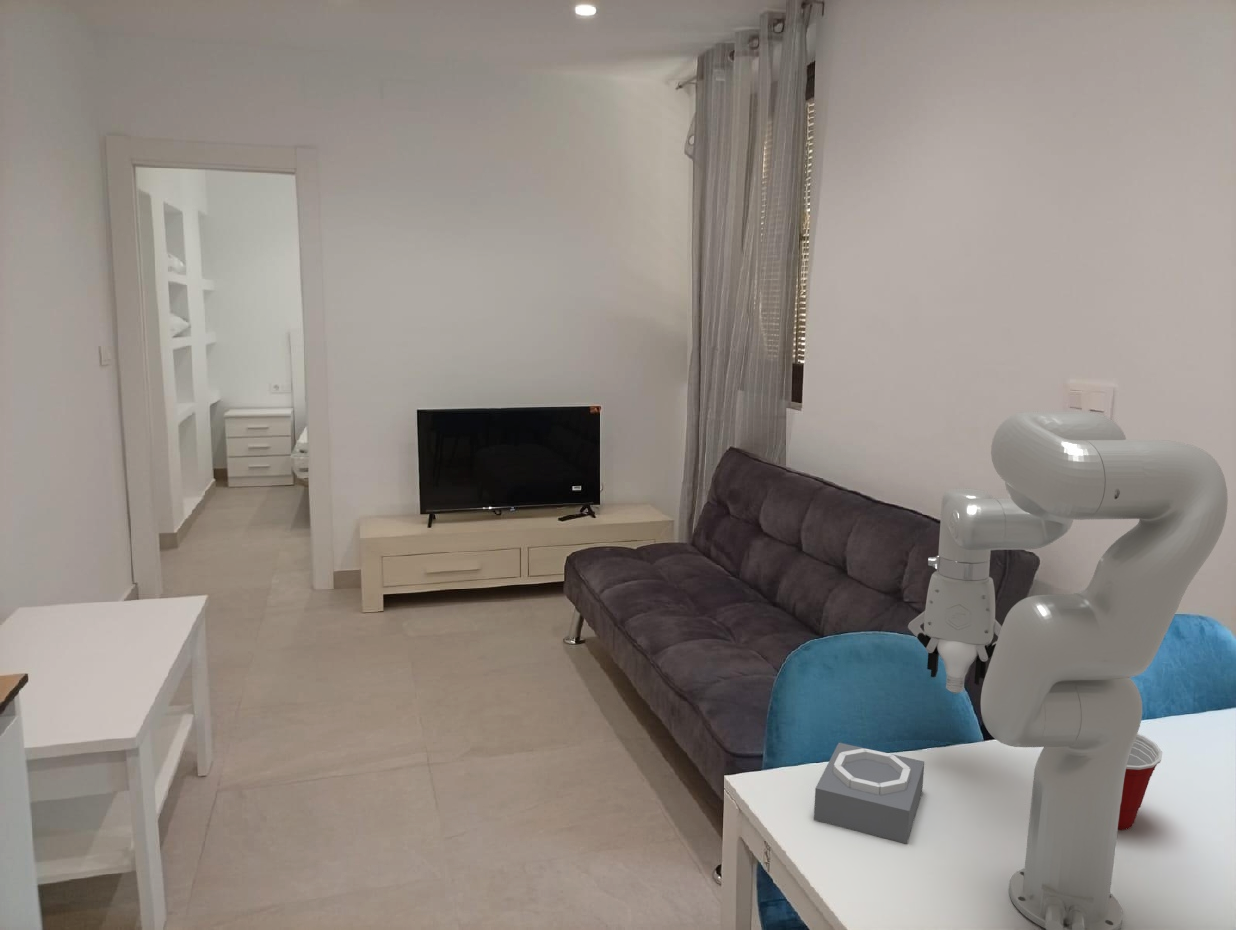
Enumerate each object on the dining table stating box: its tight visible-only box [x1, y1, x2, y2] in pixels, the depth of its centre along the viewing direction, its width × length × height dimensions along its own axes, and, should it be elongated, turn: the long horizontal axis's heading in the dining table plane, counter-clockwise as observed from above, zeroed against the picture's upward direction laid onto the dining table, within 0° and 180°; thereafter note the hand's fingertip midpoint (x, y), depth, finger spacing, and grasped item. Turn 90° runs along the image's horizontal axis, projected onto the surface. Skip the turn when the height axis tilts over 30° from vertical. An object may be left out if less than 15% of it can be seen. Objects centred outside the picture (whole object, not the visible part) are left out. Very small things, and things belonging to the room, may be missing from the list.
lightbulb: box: [937, 639, 978, 694], centre depth 141 cm, size 6×6×11 cm
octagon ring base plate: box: [813, 742, 925, 845], centre depth 133 cm, size 18×13×6 cm
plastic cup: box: [1117, 732, 1163, 831], centre depth 128 cm, size 11×11×12 cm
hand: (955, 676), depth 141 cm, fingers closed on lightbulb, 5 cm apart
